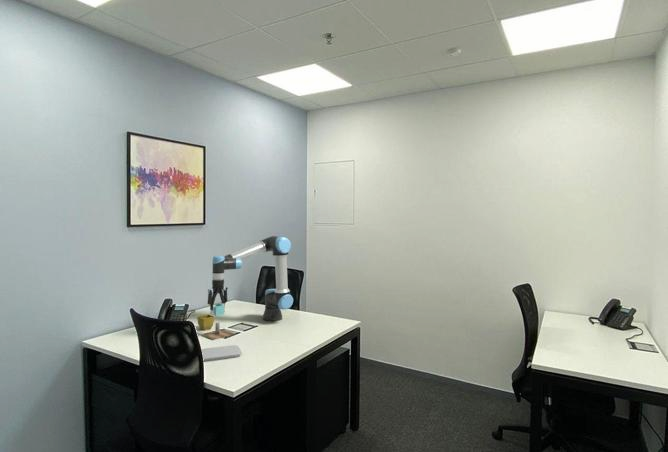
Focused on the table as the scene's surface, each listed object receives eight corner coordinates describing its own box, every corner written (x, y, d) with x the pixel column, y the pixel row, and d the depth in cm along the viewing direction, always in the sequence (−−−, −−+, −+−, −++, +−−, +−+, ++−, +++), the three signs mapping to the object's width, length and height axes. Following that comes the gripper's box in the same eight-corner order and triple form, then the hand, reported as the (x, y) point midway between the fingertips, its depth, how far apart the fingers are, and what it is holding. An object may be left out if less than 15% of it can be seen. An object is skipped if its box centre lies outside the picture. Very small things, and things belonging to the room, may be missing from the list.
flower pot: (214, 329, 267) (214, 316, 266) (203, 331, 260) (203, 318, 260) (208, 326, 273) (208, 314, 272) (196, 329, 266) (196, 316, 266)
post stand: (221, 330, 265) (221, 319, 264) (233, 334, 256) (234, 322, 256) (200, 335, 252) (200, 323, 252) (212, 340, 243) (213, 328, 243)
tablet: (191, 353, 220) (191, 350, 220) (237, 348, 231) (237, 344, 231) (194, 364, 205) (194, 360, 205) (242, 357, 216) (242, 353, 216)
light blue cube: (218, 312, 258) (218, 303, 258) (224, 314, 254) (224, 305, 254) (210, 314, 253) (210, 305, 253) (216, 315, 249) (216, 306, 249)
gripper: (227, 277, 263) (226, 310, 263) (201, 280, 248) (201, 315, 248) (233, 278, 258) (233, 312, 259) (208, 281, 243) (207, 317, 244)
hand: (217, 313), depth 254 cm, fingers closed on light blue cube, 6 cm apart
